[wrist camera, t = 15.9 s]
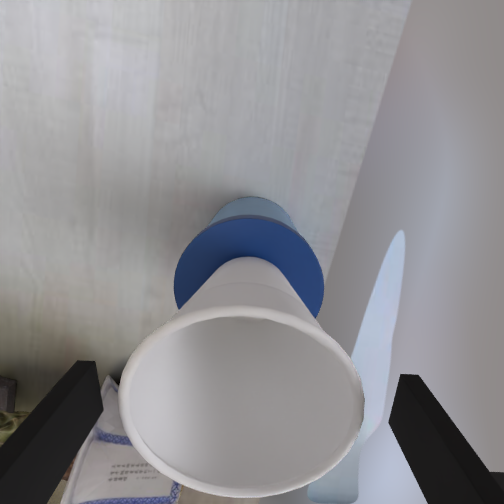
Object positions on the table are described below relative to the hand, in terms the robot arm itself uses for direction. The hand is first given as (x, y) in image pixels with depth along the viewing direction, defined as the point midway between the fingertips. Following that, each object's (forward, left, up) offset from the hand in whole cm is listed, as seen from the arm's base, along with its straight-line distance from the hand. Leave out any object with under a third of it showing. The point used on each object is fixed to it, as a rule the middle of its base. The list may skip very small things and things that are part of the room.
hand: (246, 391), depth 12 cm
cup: (0, 0, -10) cm, 10 cm away
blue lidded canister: (0, 0, -24) cm, 24 cm away
